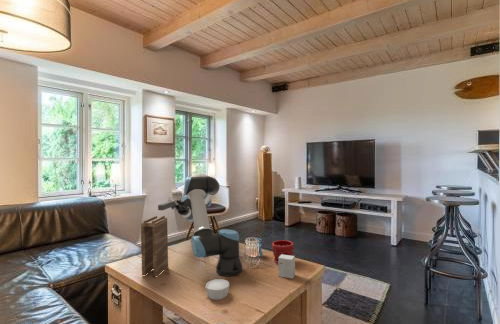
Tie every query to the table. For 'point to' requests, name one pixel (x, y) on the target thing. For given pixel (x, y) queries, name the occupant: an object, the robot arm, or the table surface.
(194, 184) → the robot arm
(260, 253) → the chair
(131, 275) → the table surface
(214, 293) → the ramekin
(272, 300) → the table surface
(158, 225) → the brown tall wooden block
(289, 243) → the plant pot
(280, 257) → the small box
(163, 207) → the marker
